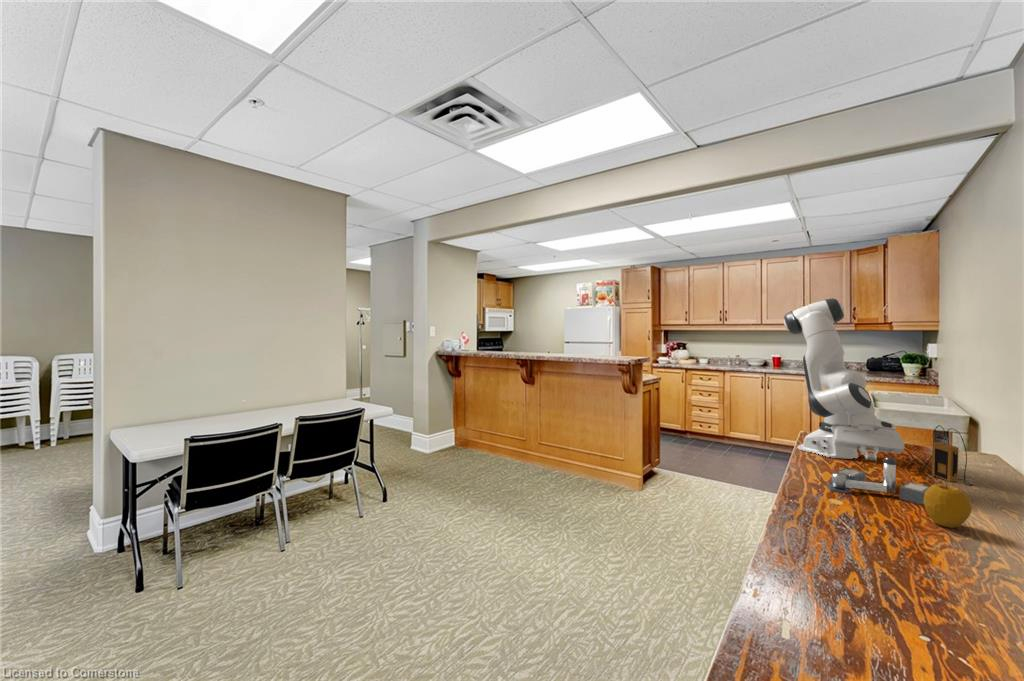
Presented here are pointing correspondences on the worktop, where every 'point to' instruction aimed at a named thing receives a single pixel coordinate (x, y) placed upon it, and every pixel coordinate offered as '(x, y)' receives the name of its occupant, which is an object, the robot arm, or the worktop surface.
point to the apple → (947, 505)
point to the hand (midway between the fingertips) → (871, 459)
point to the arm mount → (838, 489)
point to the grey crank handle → (887, 485)
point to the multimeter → (946, 460)
